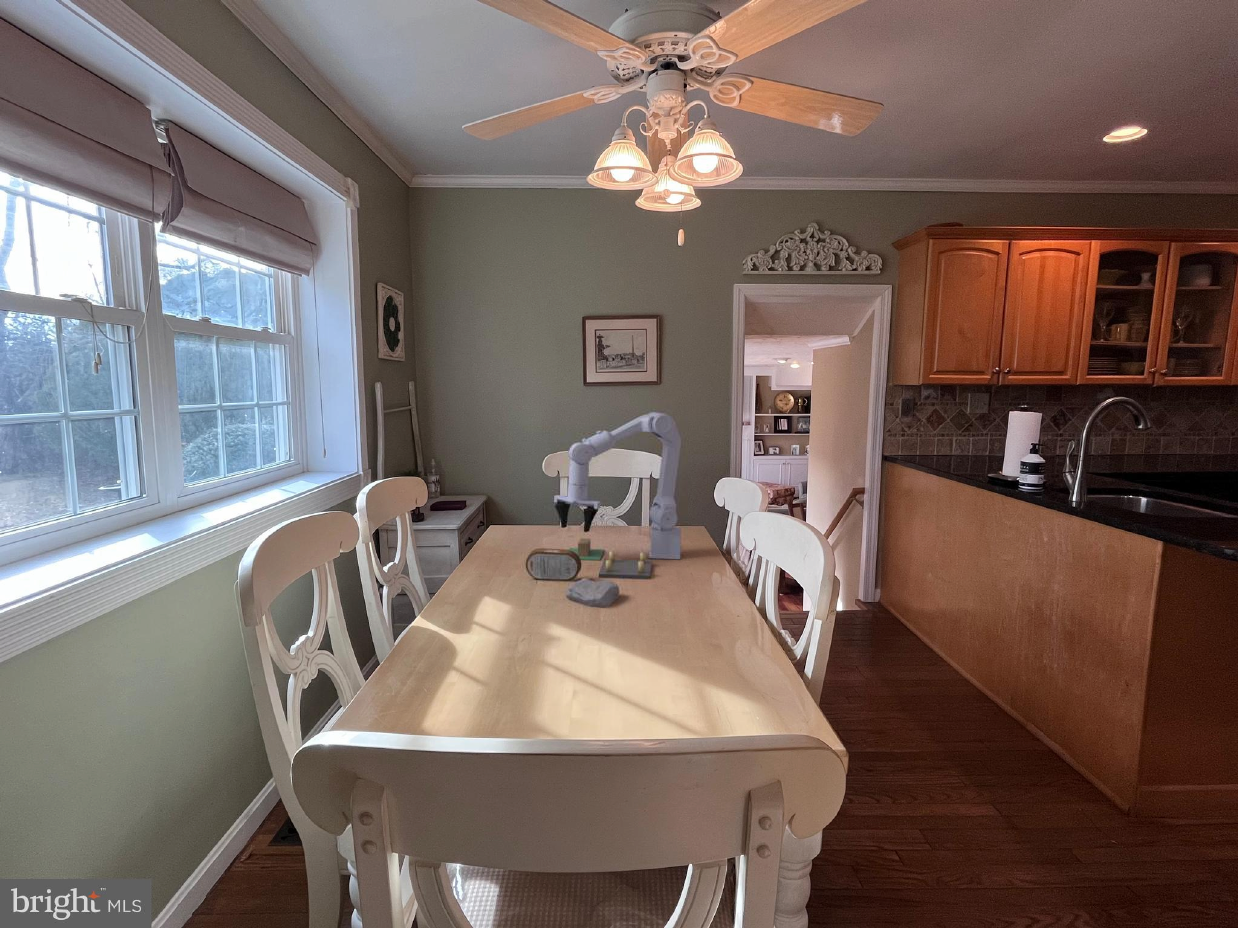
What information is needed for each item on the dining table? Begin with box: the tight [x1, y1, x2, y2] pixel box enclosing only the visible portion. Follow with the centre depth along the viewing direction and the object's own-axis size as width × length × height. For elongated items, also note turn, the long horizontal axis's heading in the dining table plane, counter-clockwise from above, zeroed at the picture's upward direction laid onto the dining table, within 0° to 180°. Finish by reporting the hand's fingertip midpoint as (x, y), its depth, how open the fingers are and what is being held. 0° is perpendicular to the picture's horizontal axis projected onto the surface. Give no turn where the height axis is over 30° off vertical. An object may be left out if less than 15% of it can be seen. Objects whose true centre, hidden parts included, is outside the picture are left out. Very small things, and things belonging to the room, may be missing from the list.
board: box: [568, 537, 605, 562], centre depth 189 cm, size 11×11×5 cm
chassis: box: [598, 550, 653, 580], centre depth 174 cm, size 14×14×4 cm
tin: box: [525, 547, 582, 582], centre depth 165 cm, size 15×3×8 cm, turn 84°
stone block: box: [565, 577, 620, 608], centre depth 151 cm, size 12×5×10 cm
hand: (575, 529), depth 180 cm, fingers open, 7 cm apart
